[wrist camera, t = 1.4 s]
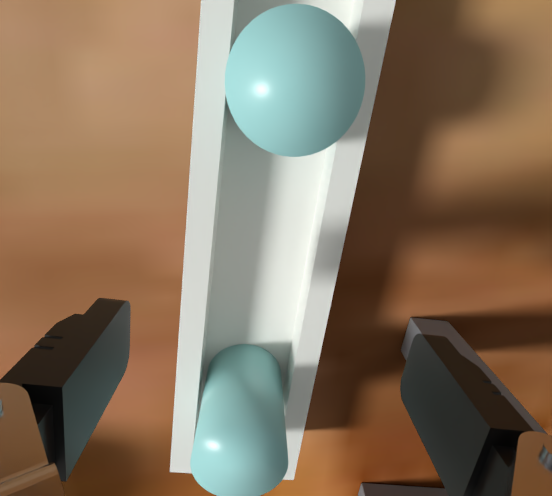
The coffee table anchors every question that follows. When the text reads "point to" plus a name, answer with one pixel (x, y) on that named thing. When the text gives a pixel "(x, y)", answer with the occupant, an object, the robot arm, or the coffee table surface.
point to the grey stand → (380, 492)
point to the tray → (267, 225)
